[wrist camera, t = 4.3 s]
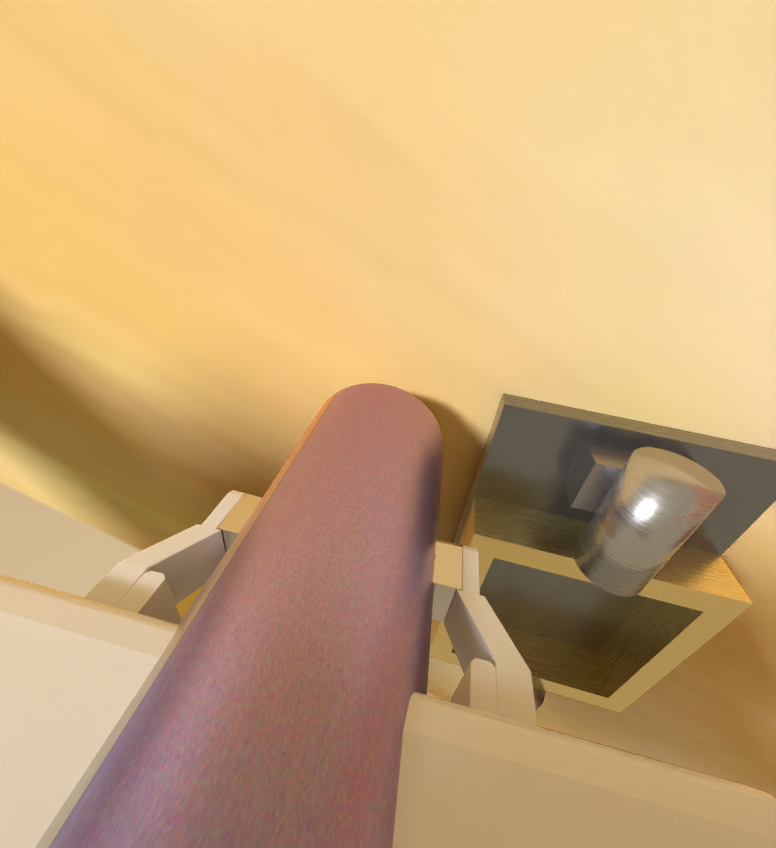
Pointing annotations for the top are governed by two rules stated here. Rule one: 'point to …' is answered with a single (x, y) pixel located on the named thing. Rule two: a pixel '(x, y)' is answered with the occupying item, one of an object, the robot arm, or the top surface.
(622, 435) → the grey and tan tray
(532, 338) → the top surface
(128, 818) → the beverage can
